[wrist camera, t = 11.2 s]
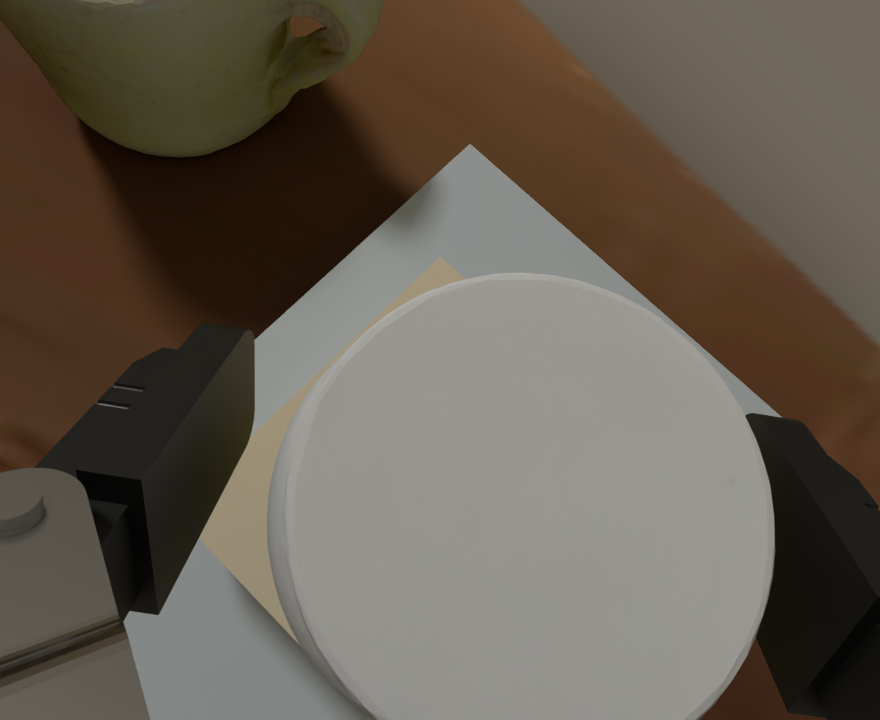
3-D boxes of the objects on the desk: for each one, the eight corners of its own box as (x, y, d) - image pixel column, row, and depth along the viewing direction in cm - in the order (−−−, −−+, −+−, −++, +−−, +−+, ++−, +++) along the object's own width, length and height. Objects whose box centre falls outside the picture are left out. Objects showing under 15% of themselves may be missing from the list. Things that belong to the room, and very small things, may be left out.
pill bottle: (598, 463, 17) (945, 377, 6) (496, 684, 15) (725, 1064, 5) (399, 356, 17) (408, 102, 7) (280, 562, 16) (44, 664, 5)
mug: (-81, 84, 21) (-235, -280, 13) (130, -34, 27) (118, -344, 18) (225, 293, 23) (265, 87, 14) (366, 141, 28) (455, -73, 20)
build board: (397, 965, 18) (397, 1114, 13) (35, 562, 20) (-69, 576, 15) (794, 456, 22) (891, 442, 18) (465, 166, 24) (480, 89, 20)
